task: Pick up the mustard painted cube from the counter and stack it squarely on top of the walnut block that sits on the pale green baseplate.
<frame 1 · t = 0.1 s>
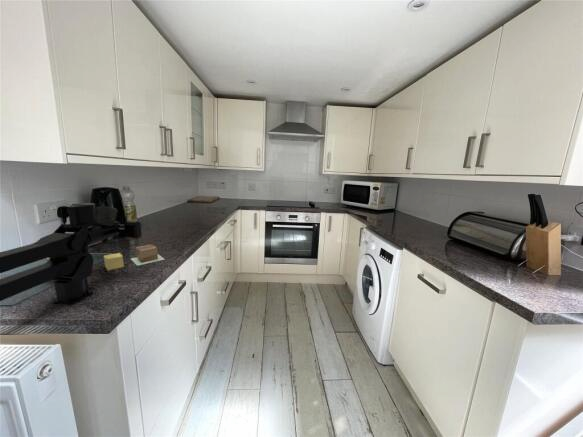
hand: (131, 224, 90), 17 cm above the worktop, tool horizontal, fingers open, 9 cm apart
baseplate: (147, 260, 98), on the worktop
mustard cube: (114, 268, 90), on the worktop
walnut block: (147, 258, 98), point 1 cm above the worktop, touching baseplate
plant pot: (69, 277, 81), on the worktop
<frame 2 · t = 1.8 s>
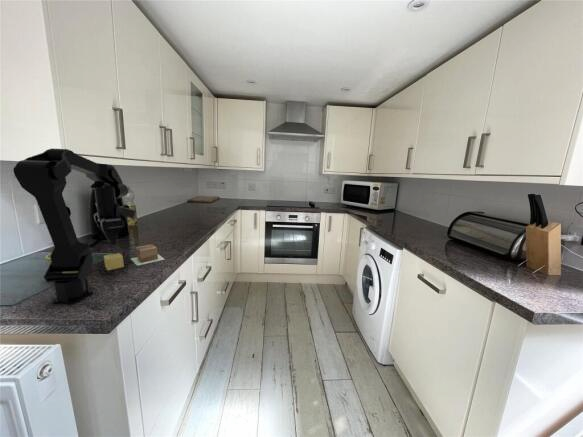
hand: (111, 241, 87), 11 cm above the worktop, tool pointing down, fingers open, 9 cm apart
nothing on the worktop moved.
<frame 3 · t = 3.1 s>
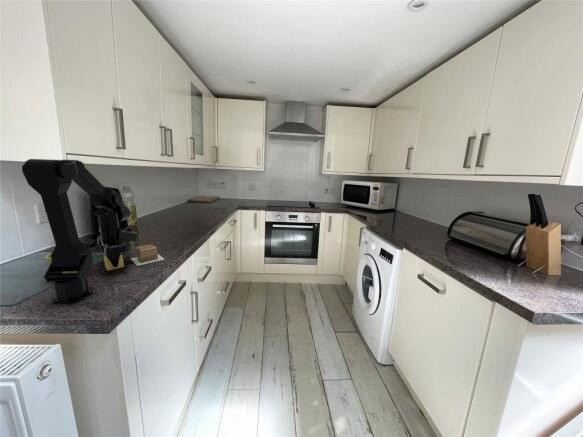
hand: (114, 264, 89), 1 cm above the worktop, tool pointing down, fingers closed on mustard cube, 5 cm apart
mustard cube: (114, 268, 90), on the worktop, touching gripper
everything else where it was.
when the fingers open (8 cm above the worktop, at t = 6.3 s): mustard cube stays where it is, resting on walnut block.
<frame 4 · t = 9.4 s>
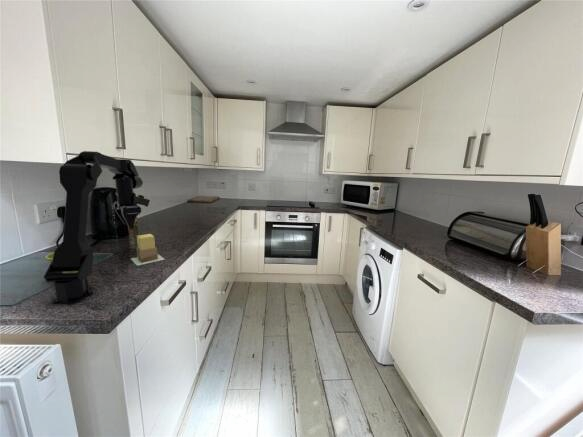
hand: (128, 226, 100), 13 cm above the worktop, tool pointing down, fingers open, 9 cm apart
mustard cube: (146, 247, 97), point 6 cm above the worktop, touching walnut block
walnut block: (147, 258, 98), point 1 cm above the worktop, touching baseplate, mustard cube
everything else where it was.
at the end: mustard cube 0.0 cm off-centre on the walnut block, point 5.0 cm above the walnut block's base; mustard cube tilted 0°; walnut block moved 0.0 cm from its start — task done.
